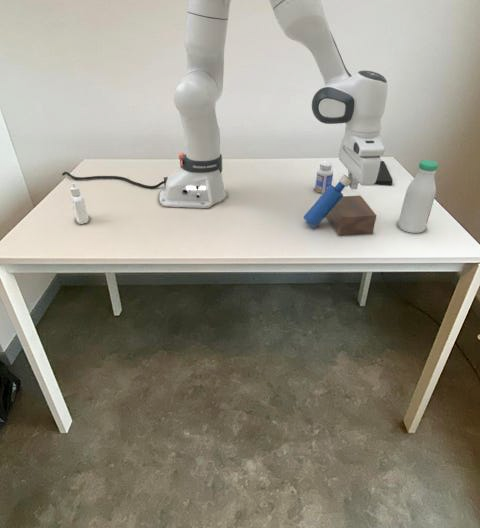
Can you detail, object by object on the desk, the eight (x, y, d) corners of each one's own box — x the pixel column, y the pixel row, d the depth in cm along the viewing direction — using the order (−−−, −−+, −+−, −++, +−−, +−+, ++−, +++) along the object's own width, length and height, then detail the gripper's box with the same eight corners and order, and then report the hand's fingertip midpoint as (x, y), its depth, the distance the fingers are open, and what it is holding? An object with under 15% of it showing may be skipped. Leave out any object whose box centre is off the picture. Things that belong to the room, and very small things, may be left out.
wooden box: (339, 235, 116) (342, 217, 113) (326, 214, 127) (328, 196, 124) (372, 233, 117) (376, 215, 114) (357, 212, 128) (360, 195, 124)
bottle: (305, 231, 119) (306, 183, 110) (301, 223, 123) (302, 176, 114) (350, 225, 120) (354, 177, 111) (345, 217, 124) (349, 170, 115)
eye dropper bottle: (72, 224, 122) (62, 187, 115) (79, 215, 126) (69, 179, 119) (86, 224, 121) (77, 187, 115) (93, 215, 126) (84, 179, 119)
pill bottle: (330, 187, 144) (333, 160, 138) (331, 193, 139) (335, 166, 134) (314, 186, 144) (317, 160, 138) (315, 193, 140) (318, 166, 134)
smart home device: (384, 160, 160) (393, 180, 144) (383, 164, 161) (392, 185, 145) (362, 159, 161) (369, 179, 145) (362, 163, 162) (368, 184, 146)
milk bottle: (421, 236, 116) (441, 170, 105) (394, 229, 120) (411, 164, 108) (427, 225, 122) (447, 160, 110) (401, 218, 125) (417, 155, 113)
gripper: (337, 127, 116) (330, 173, 123) (363, 152, 99) (353, 203, 107) (358, 126, 116) (350, 172, 124) (387, 151, 100) (376, 202, 107)
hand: (352, 187), depth 115 cm, fingers closed
